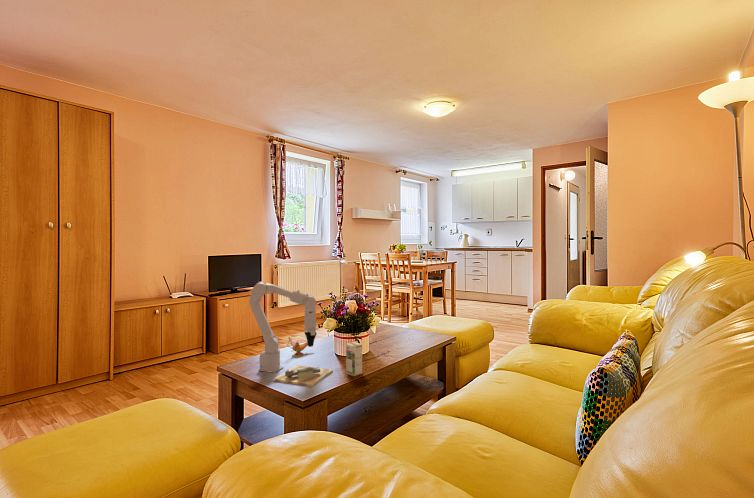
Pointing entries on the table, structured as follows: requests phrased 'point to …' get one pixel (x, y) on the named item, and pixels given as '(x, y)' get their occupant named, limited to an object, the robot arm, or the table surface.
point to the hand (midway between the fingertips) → (310, 346)
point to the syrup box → (353, 358)
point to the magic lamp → (298, 347)
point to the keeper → (305, 372)
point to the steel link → (295, 372)
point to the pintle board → (305, 382)
